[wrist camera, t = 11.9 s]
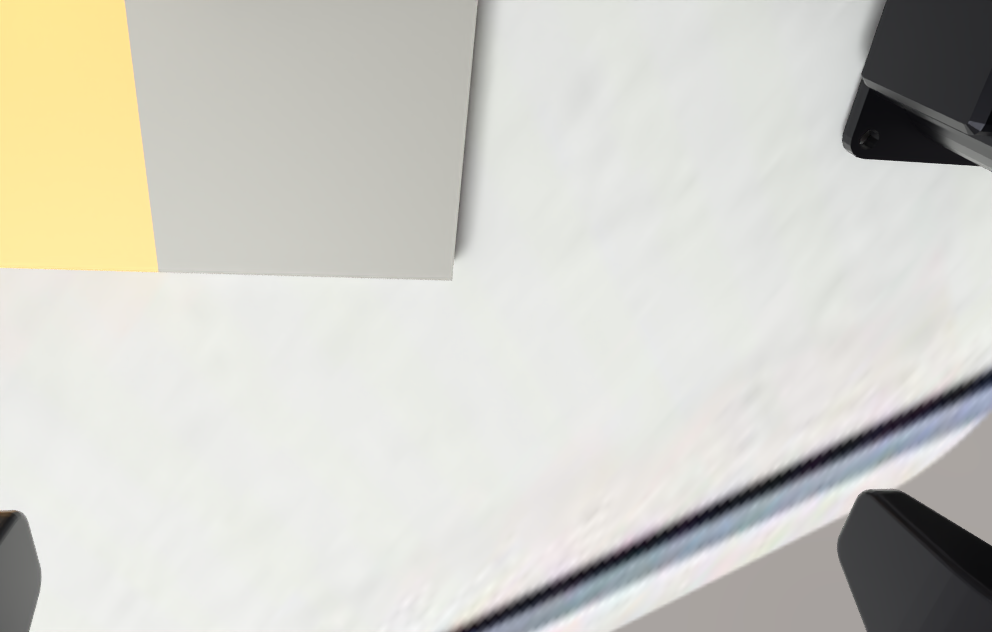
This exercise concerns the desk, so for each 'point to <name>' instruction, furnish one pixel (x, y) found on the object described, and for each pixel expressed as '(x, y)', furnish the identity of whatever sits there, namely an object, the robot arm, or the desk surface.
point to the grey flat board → (234, 135)
